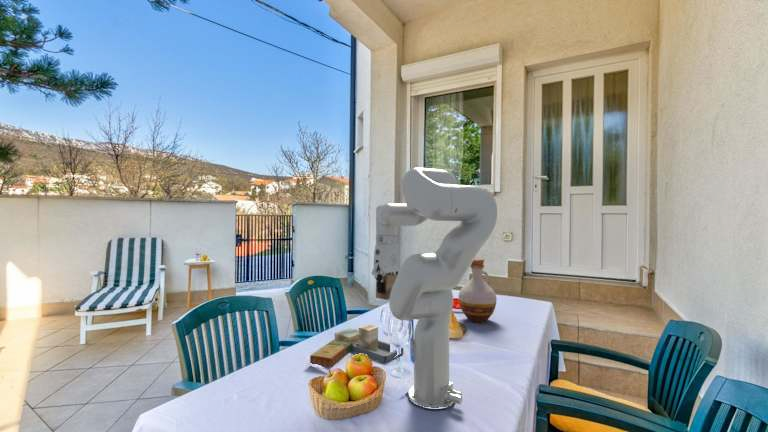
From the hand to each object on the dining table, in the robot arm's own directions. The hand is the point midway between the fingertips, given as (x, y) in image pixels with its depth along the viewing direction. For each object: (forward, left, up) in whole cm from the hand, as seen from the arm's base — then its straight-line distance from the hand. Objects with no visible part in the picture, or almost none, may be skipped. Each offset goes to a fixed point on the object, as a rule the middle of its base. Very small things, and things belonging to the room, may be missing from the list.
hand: (386, 291), depth 116 cm
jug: (-7, -64, -24) cm, 68 cm away
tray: (+4, 0, -23) cm, 24 cm away
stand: (+18, 0, -23) cm, 30 cm away
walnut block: (0, 0, -2) cm, 2 cm away
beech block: (+8, 0, -22) cm, 24 cm away
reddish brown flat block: (+14, +12, -24) cm, 30 cm away
